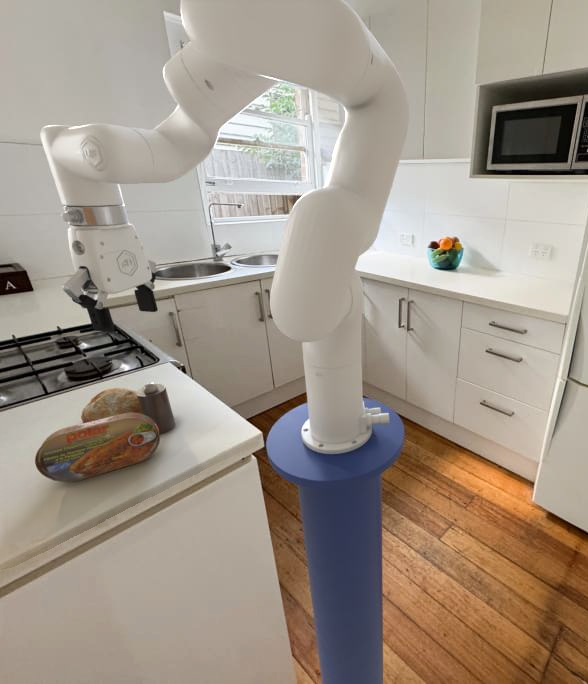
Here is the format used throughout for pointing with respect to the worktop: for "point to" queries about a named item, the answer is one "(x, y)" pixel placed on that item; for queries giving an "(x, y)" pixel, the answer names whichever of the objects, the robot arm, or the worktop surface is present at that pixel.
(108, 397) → the bread roll
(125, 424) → the tin
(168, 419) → the pepper mill
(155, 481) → the worktop surface
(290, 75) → the robot arm
